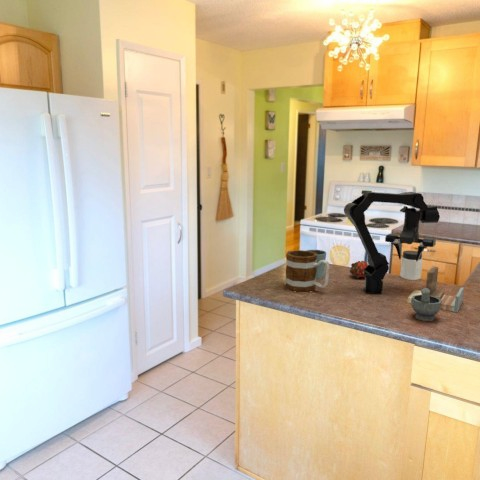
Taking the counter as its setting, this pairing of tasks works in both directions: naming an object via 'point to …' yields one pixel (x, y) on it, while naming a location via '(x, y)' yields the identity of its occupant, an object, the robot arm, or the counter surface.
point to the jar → (411, 265)
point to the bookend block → (433, 283)
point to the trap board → (447, 300)
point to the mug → (303, 271)
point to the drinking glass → (320, 268)
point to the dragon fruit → (358, 269)
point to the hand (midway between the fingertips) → (408, 260)
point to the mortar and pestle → (425, 305)
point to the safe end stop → (459, 299)
